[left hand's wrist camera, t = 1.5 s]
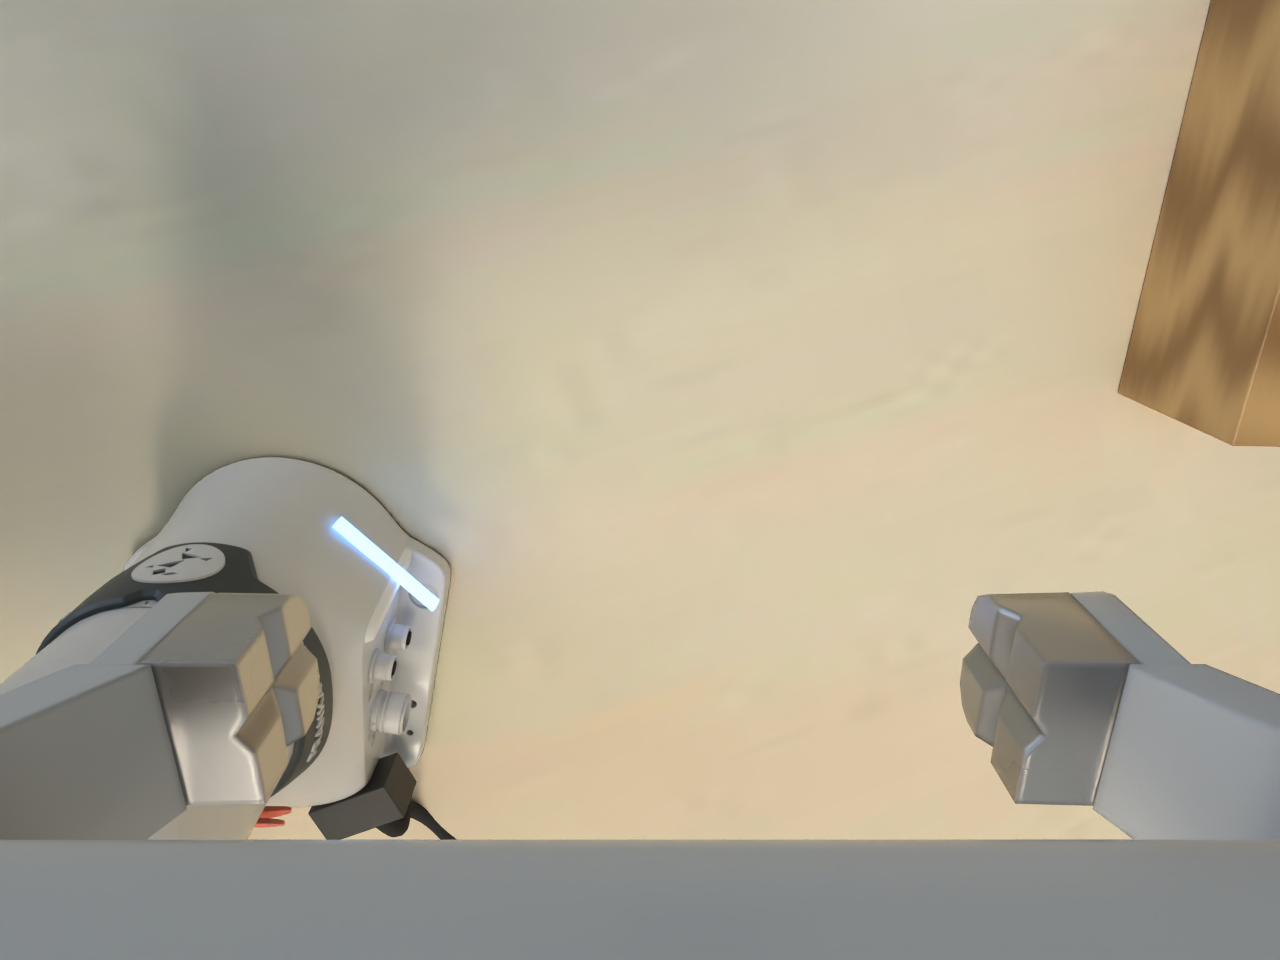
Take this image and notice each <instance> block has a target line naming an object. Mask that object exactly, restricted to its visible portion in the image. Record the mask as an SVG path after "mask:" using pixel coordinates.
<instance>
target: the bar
mask: <svg viewBox="0 0 1280 960" xmlns="http://www.w3.org/2000/svg"><path fill="white" fill-rule="evenodd" d="M1118 393H1119V394H1121V395H1123V396H1125V397H1127V398H1130V399H1132V400H1134V401H1136V402H1138V403H1141V404H1143V405H1145V406H1147V407H1149V408H1151V409H1154V410H1156V411H1158V412H1160V413H1162V414H1165V415H1167V416H1169V417H1171V418H1173V419H1175V420H1178V421H1180V422H1182V423H1184V424H1186V425H1189V426H1191V427H1193V428H1195V429H1197V430H1199V431H1202V432H1204V433H1206V434H1208V435H1210V436H1213V437H1215V438H1217V439H1219V440H1221V441H1223V442H1226V443H1228V444H1230V445H1232V446H1277V447H1280V0H1211V4H1210V8H1209V12H1208V17H1207V21H1206V25H1205V29H1204V33H1203V38H1202V42H1201V46H1200V50H1199V54H1198V59H1197V63H1196V67H1195V71H1194V75H1193V80H1192V84H1191V88H1190V92H1189V96H1188V100H1187V105H1186V109H1185V113H1184V117H1183V121H1182V126H1181V130H1180V134H1179V138H1178V142H1177V147H1176V151H1175V155H1174V159H1173V163H1172V168H1171V172H1170V176H1169V180H1168V184H1167V189H1166V193H1165V197H1164V201H1163V205H1162V210H1161V214H1160V218H1159V222H1158V226H1157V231H1156V235H1155V239H1154V243H1153V247H1152V252H1151V256H1150V260H1149V264H1148V268H1147V272H1146V277H1145V281H1144V285H1143V289H1142V293H1141V298H1140V302H1139V306H1138V310H1137V314H1136V319H1135V323H1134V327H1133V331H1132V335H1131V340H1130V344H1129V348H1128V352H1127V356H1126V361H1125V365H1124V369H1123V373H1122V377H1121V382H1120V386H1119V390H1118Z"/></svg>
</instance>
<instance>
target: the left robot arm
mask: <svg viewBox="0 0 1280 960" xmlns="http://www.w3.org/2000/svg"><path fill="white" fill-rule="evenodd" d="M450 579H451V570H450V566H449V564H448V563H447V561H446V560H445V559H444V558H443V557H442V556H440V555H439V554H438V553H436V552H435V551H433V550H432V549H430V548H429V547H427V546H425V545H424V544H422V543H420V542H418V541H416V540H415V539H413V538H411V537H409V536H408V535H407V534H406V533H405V532H404V531H403V530H402V529H401V528H400V527H399V526H398V524H397V523H396V522H395V521H394V519H393V518H392V517H391V516H390V514H389V513H388V512H387V511H386V510H385V508H384V507H383V506H382V505H381V504H380V503H379V502H378V501H377V500H376V499H375V498H374V497H373V496H372V495H370V494H369V493H368V492H367V491H366V490H364V489H363V488H362V487H360V486H359V485H358V484H356V483H355V482H353V481H351V480H350V479H348V478H347V477H345V476H343V475H341V474H339V473H337V472H335V471H333V470H331V469H328V468H326V467H323V466H320V465H317V464H314V463H311V462H307V461H303V460H297V459H291V458H280V457H263V458H254V459H247V460H243V461H239V462H235V463H232V464H229V465H227V466H224V467H222V468H220V469H218V470H216V471H214V472H212V473H210V474H209V475H207V476H206V477H204V478H203V479H202V480H200V481H199V482H198V483H197V484H196V485H195V486H194V487H192V489H191V490H190V491H189V492H188V493H187V494H186V495H185V497H184V498H183V499H182V501H181V502H180V504H179V506H178V507H177V509H176V511H175V512H174V514H173V515H172V517H171V518H170V520H169V521H168V523H167V524H166V525H165V526H164V528H163V529H162V530H161V531H160V533H159V534H158V535H157V536H156V537H154V538H153V539H151V540H150V541H148V542H147V543H145V544H144V545H143V546H141V547H140V548H139V549H138V550H137V551H136V552H135V553H134V554H133V555H132V556H131V557H130V558H129V559H128V560H127V562H126V563H125V566H124V571H123V572H122V573H120V574H119V575H117V576H115V577H114V578H112V579H111V580H110V581H108V582H107V583H106V584H104V585H103V586H102V587H101V588H99V589H98V590H97V591H96V592H94V593H93V594H92V595H91V596H89V597H88V598H87V599H86V600H85V601H83V602H82V603H81V604H80V605H79V606H78V607H77V608H75V609H74V610H73V611H72V612H70V613H68V614H67V615H66V616H65V617H64V618H62V619H61V620H60V622H59V623H58V624H57V625H56V626H55V627H54V628H53V629H52V630H51V631H50V632H49V634H48V635H47V636H46V637H45V639H44V640H43V642H42V643H41V645H40V647H39V649H38V651H37V653H36V655H35V656H34V657H33V658H31V659H30V660H29V661H28V662H27V663H25V664H24V665H23V666H22V667H20V668H19V669H18V670H17V671H15V672H14V673H13V674H12V675H11V676H9V677H8V678H7V679H6V680H4V681H3V682H2V683H1V684H0V960H1280V694H1278V693H1275V692H1273V691H1270V690H1268V689H1266V688H1263V687H1261V686H1258V685H1256V684H1253V683H1251V682H1248V681H1246V680H1243V679H1241V678H1238V677H1236V676H1233V675H1231V674H1228V673H1226V672H1223V671H1221V670H1218V669H1216V668H1213V667H1211V666H1208V665H1206V664H1191V663H1190V662H1188V661H1187V660H1186V659H1185V658H1184V657H1183V656H1182V655H1181V654H1180V653H1178V652H1177V651H1176V650H1175V649H1174V648H1173V647H1172V646H1171V645H1170V644H1168V643H1167V642H1166V641H1165V640H1164V639H1163V638H1162V637H1161V636H1160V635H1158V634H1157V633H1156V632H1155V631H1154V630H1153V629H1152V628H1151V627H1150V626H1148V625H1147V624H1146V623H1145V622H1144V621H1143V620H1142V619H1141V618H1140V617H1138V616H1137V615H1136V614H1135V613H1134V612H1133V611H1132V610H1131V609H1129V608H1128V607H1127V606H1126V605H1125V604H1124V603H1123V602H1122V601H1121V600H1119V599H1118V598H1117V597H1116V596H1115V595H1113V594H1110V593H1106V592H1081V593H1026V594H987V595H981V596H977V598H976V601H975V603H974V605H973V607H972V610H971V615H970V621H969V626H968V627H969V629H970V630H971V632H972V633H973V635H974V636H975V638H976V640H977V641H978V644H977V645H976V646H975V647H974V648H973V649H972V650H971V651H970V652H969V653H968V654H967V655H966V656H965V657H964V658H963V663H962V671H961V678H960V689H961V699H962V707H963V710H964V713H965V716H966V719H967V722H968V724H969V725H970V727H971V729H972V731H973V733H974V734H975V736H976V737H978V738H980V739H981V740H983V741H984V742H986V743H988V744H989V745H991V746H992V747H993V752H992V757H991V764H992V765H993V767H994V769H995V770H996V772H997V774H998V775H999V777H1000V779H1001V780H1002V782H1003V784H1004V785H1005V787H1006V789H1007V790H1008V792H1009V794H1010V795H1011V797H1012V799H1013V800H1014V802H1015V804H1050V805H1087V806H1093V810H1095V811H1096V812H1097V813H1099V814H1100V815H1101V816H1103V817H1104V818H1105V819H1107V820H1108V821H1109V822H1111V823H1112V824H1114V825H1115V826H1116V827H1118V828H1119V829H1120V830H1122V831H1123V832H1124V833H1126V834H1127V835H1128V836H1130V837H1131V838H1132V839H1134V840H456V839H455V838H454V837H453V836H452V835H450V834H449V833H448V832H447V831H445V830H444V829H443V828H442V827H441V826H440V825H439V824H438V823H437V822H436V821H435V820H434V818H433V817H432V816H431V815H430V814H429V813H428V812H427V811H426V809H425V808H424V807H422V806H420V805H418V804H416V803H413V802H410V799H411V796H412V793H413V790H414V787H415V784H416V780H415V779H414V777H413V775H412V774H411V772H410V771H409V769H408V768H410V767H412V766H413V765H415V764H416V763H417V762H418V760H419V758H420V756H421V755H422V752H423V749H424V745H425V739H426V733H427V727H428V721H429V714H430V708H431V701H432V695H433V688H434V682H435V676H436V669H437V663H438V656H439V650H440V643H441V637H442V631H443V624H444V618H445V611H446V605H447V598H448V592H449V586H450ZM426 588H427V589H429V590H430V591H431V592H432V593H431V592H430V591H428V590H427V589H426ZM309 806H312V807H311V809H310V811H309V815H310V817H311V818H312V820H313V821H314V822H315V824H316V825H317V827H318V828H319V829H320V831H321V832H322V834H323V835H324V836H325V838H326V839H327V840H248V838H249V836H250V834H251V832H252V830H253V828H254V827H272V826H283V825H284V824H285V821H284V820H279V819H269V818H273V817H277V816H281V815H284V814H288V813H290V812H291V808H296V807H309ZM410 818H413V819H415V820H417V821H419V822H421V823H423V824H424V825H425V826H427V827H428V828H429V829H430V830H432V831H433V832H434V833H435V834H436V835H437V836H438V837H439V839H440V840H341V839H344V838H346V837H349V836H352V835H355V834H358V833H361V832H364V831H367V830H370V829H372V828H375V827H376V828H377V829H379V830H380V831H381V832H383V833H385V834H386V835H388V836H390V837H397V836H402V835H403V834H404V833H405V832H406V831H407V829H408V827H409V822H410Z"/></svg>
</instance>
